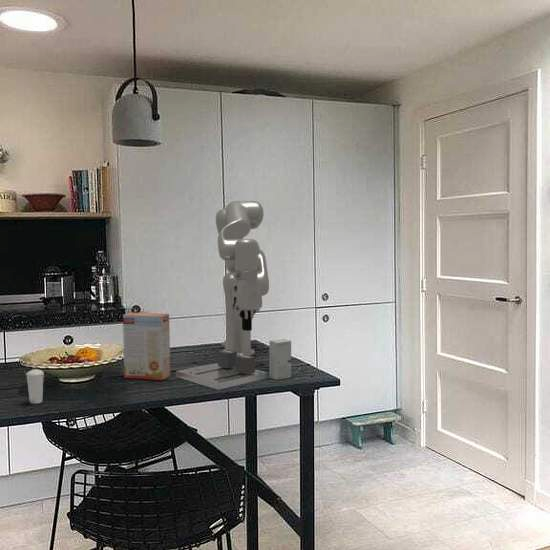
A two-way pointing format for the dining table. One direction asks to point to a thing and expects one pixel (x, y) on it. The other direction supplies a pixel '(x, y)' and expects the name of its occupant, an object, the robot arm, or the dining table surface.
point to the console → (219, 376)
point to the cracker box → (146, 346)
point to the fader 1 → (226, 358)
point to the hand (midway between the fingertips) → (246, 330)
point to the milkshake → (35, 385)
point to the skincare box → (280, 359)
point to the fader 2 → (245, 364)
